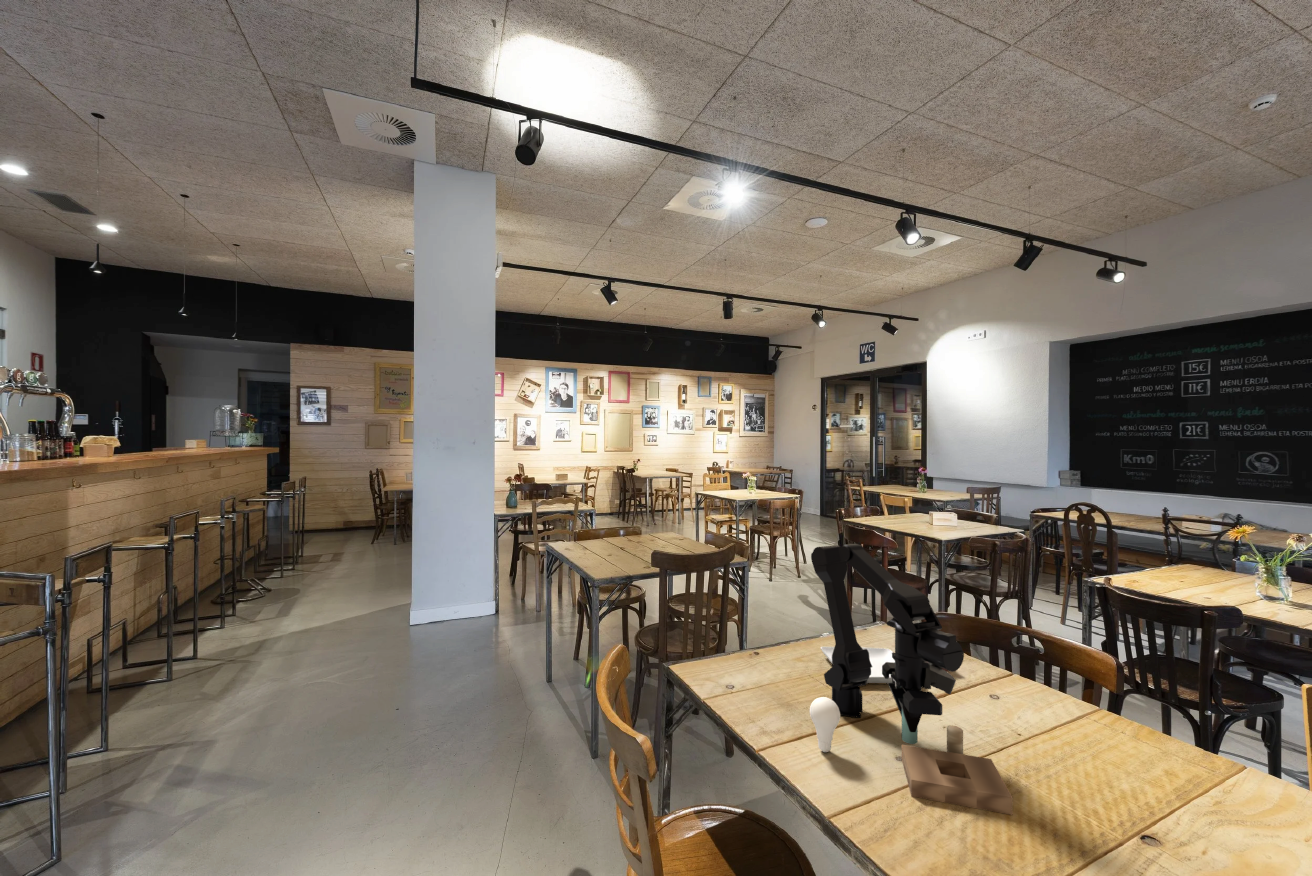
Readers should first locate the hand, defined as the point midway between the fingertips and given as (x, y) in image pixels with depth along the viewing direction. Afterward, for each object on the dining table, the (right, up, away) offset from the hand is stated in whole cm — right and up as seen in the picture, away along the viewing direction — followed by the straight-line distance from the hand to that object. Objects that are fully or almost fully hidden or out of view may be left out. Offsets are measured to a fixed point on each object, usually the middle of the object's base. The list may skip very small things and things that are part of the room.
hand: (909, 727), depth 111 cm
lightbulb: (-18, -5, -1) cm, 19 cm away
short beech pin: (+9, -5, -1) cm, 10 cm away
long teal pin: (0, -3, 0) cm, 3 cm away
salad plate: (+7, -6, +40) cm, 41 cm away
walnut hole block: (+3, -5, -11) cm, 13 cm away
